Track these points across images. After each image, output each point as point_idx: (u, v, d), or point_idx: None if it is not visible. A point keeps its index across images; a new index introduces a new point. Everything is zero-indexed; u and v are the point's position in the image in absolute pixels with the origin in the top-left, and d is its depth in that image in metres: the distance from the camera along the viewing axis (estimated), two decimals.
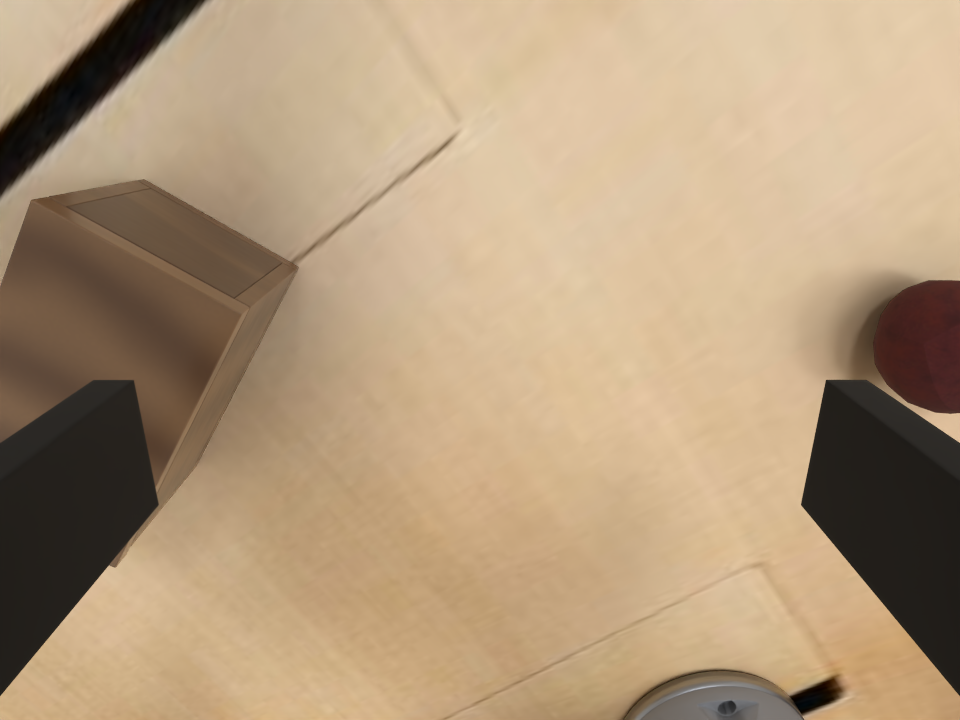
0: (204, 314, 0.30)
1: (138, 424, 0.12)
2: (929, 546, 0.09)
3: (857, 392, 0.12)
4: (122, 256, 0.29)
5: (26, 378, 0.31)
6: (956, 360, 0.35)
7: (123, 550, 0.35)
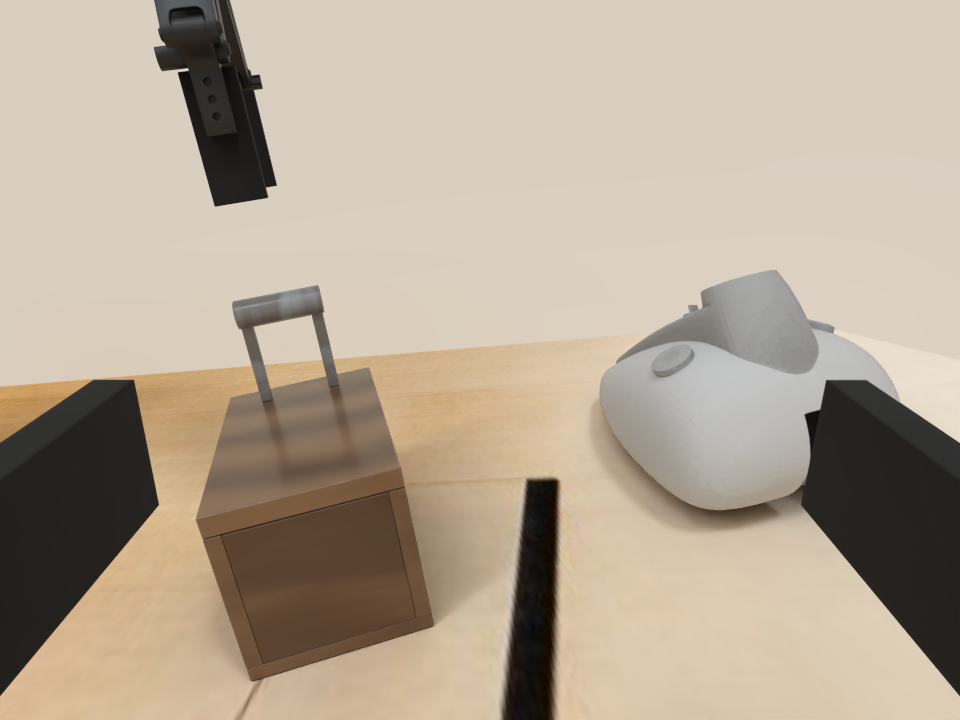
0: (229, 501, 0.32)
1: (138, 424, 0.12)
2: (929, 546, 0.09)
3: (857, 392, 0.12)
4: (315, 485, 0.32)
5: (342, 416, 0.40)
6: None
7: (229, 404, 0.45)
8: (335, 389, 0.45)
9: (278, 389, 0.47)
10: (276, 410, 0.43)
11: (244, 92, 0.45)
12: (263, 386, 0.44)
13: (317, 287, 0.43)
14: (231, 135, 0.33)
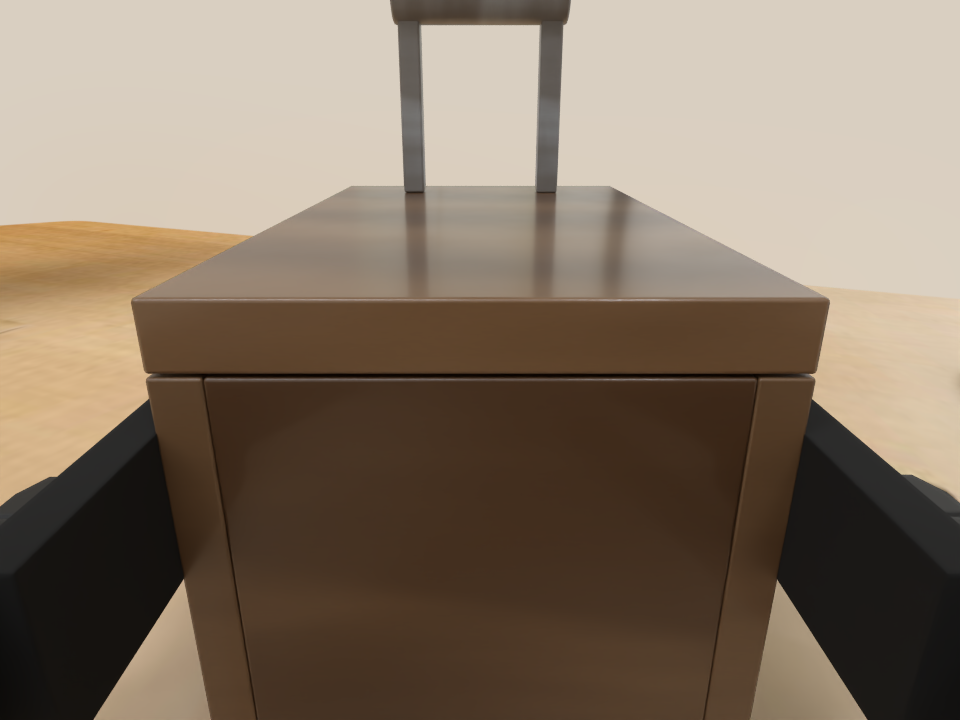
0: (253, 282, 0.10)
1: None
2: (796, 506, 0.10)
3: None
4: (527, 292, 0.10)
5: (577, 216, 0.17)
6: None
7: (344, 190, 0.24)
8: (550, 195, 0.22)
9: (437, 187, 0.24)
10: (428, 200, 0.21)
11: None
12: (413, 159, 0.22)
13: None
14: None
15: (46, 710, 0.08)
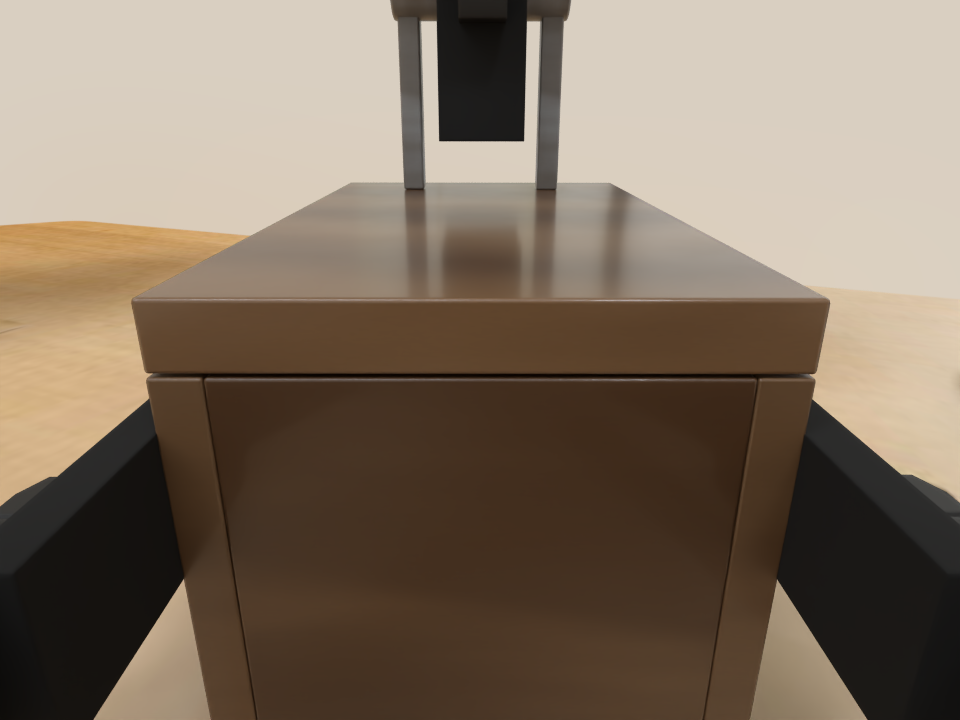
0: (253, 282, 0.10)
1: None
2: (796, 506, 0.10)
3: None
4: (527, 293, 0.10)
5: (577, 214, 0.17)
6: None
7: (344, 187, 0.24)
8: (550, 192, 0.22)
9: (437, 184, 0.24)
10: (428, 197, 0.20)
11: None
12: (413, 156, 0.22)
13: None
14: (494, 25, 0.20)
15: (46, 710, 0.08)
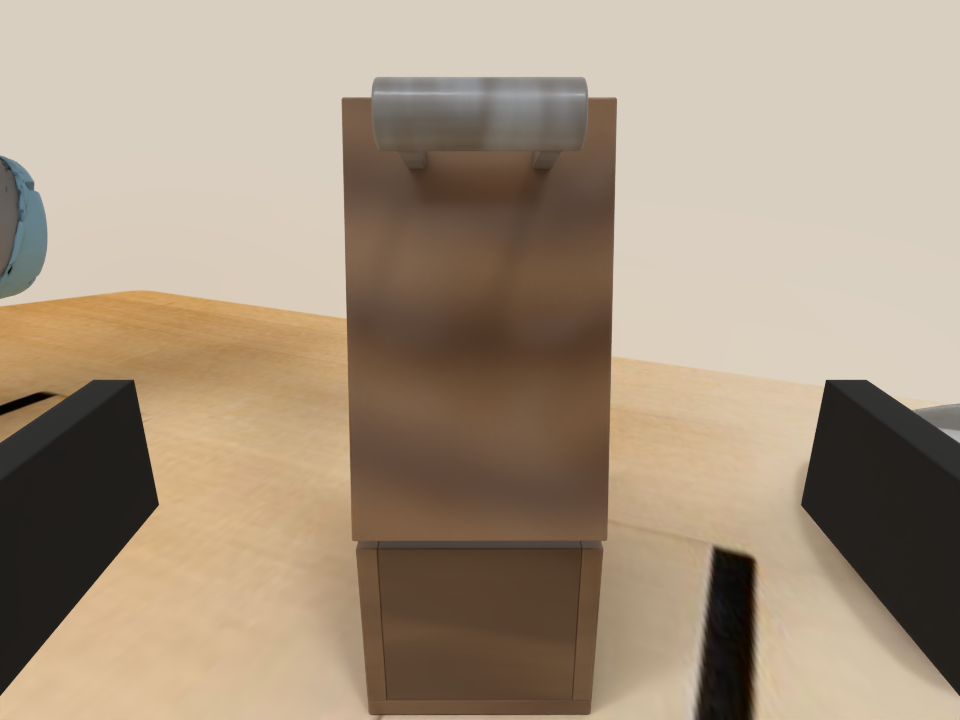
0: (389, 519, 0.25)
1: (138, 424, 0.12)
2: (929, 546, 0.09)
3: (857, 392, 0.12)
4: (497, 533, 0.25)
5: (546, 328, 0.25)
6: None
7: (343, 134, 0.24)
8: (543, 189, 0.24)
9: None
10: (435, 229, 0.24)
11: None
12: (414, 163, 0.23)
13: (585, 117, 0.17)
14: None
15: None
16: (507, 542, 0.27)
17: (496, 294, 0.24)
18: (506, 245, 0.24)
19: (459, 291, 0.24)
